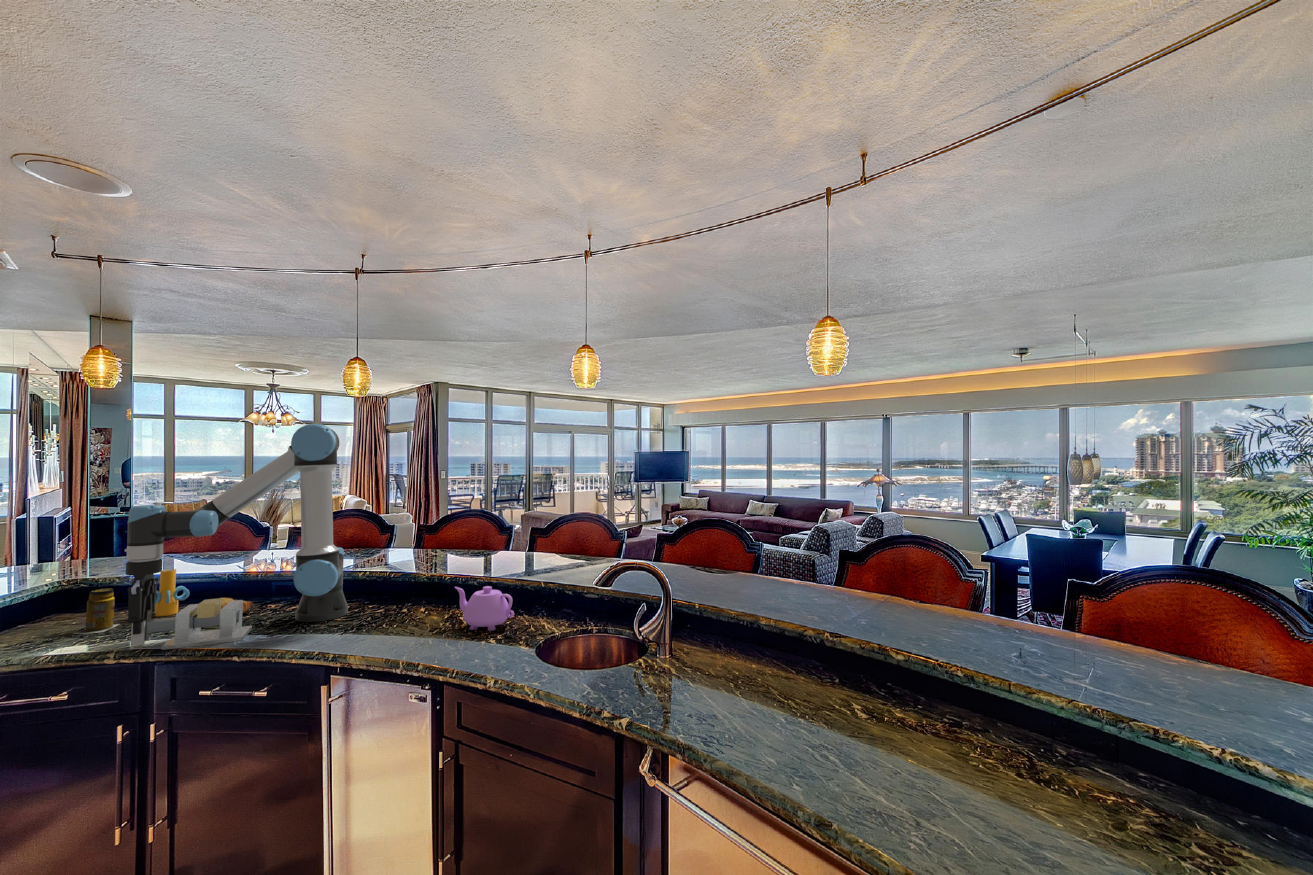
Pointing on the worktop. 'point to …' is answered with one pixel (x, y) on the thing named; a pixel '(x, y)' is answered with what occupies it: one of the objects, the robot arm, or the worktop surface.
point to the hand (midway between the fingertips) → (140, 642)
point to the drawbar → (169, 623)
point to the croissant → (226, 600)
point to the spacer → (209, 608)
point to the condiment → (99, 612)
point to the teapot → (485, 608)
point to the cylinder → (168, 594)
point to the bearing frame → (196, 637)
